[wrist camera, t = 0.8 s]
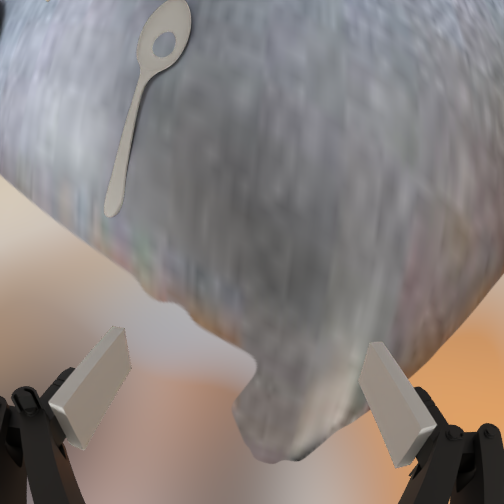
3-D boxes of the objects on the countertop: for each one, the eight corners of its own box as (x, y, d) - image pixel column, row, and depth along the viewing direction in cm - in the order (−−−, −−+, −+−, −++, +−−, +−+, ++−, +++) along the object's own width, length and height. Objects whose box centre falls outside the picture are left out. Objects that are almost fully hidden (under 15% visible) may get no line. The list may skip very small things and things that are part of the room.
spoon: (164, 0, 27) (155, -5, 25) (210, 7, 27) (203, 0, 25) (100, 202, 44) (90, 207, 42) (134, 221, 44) (125, 227, 42)
